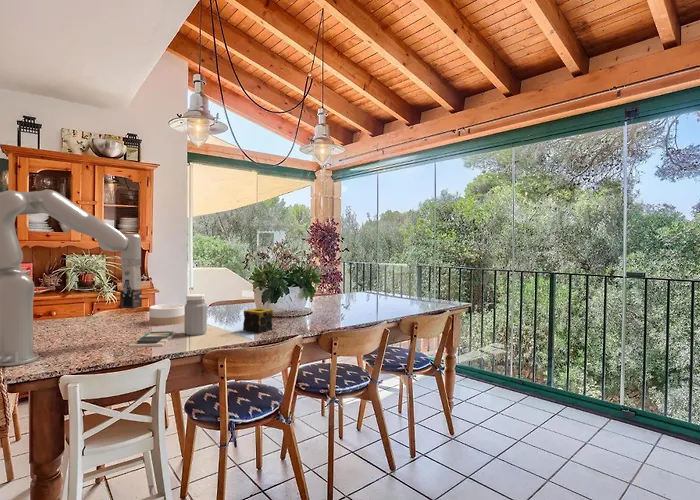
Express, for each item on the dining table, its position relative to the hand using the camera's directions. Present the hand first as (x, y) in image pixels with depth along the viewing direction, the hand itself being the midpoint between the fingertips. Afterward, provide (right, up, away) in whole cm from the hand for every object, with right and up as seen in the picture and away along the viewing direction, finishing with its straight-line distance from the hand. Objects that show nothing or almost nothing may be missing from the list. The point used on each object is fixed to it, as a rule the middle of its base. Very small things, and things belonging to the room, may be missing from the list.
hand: (131, 304), depth 176 cm
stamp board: (+8, -16, +3) cm, 18 cm away
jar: (+21, -16, +16) cm, 31 cm away
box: (0, -2, 0) cm, 2 cm away
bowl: (-3, -15, +42) cm, 45 cm away
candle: (+48, -16, +25) cm, 57 cm away
